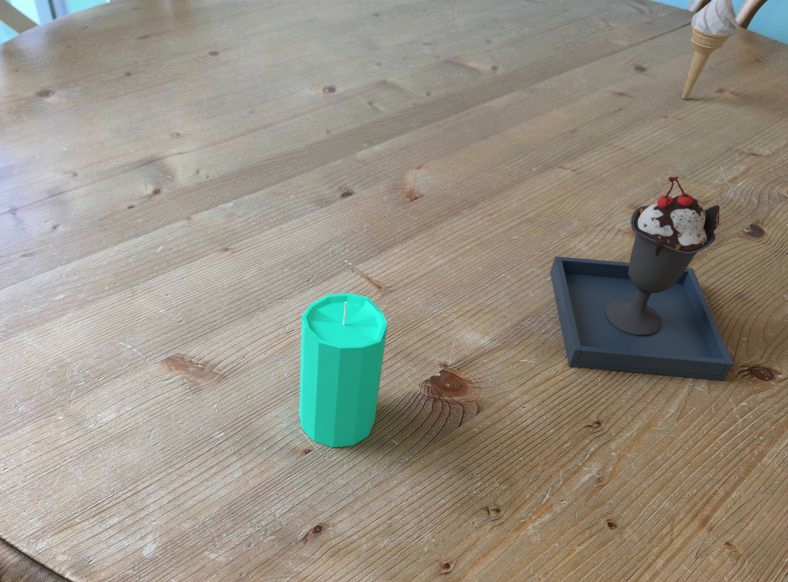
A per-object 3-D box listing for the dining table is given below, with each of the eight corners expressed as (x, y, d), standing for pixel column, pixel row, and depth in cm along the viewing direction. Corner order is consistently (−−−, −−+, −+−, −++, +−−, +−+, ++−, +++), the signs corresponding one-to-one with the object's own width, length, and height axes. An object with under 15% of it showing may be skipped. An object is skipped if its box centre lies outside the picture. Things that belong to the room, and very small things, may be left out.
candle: (316, 457, 56) (323, 341, 48) (287, 401, 60) (288, 286, 52) (387, 434, 58) (405, 319, 50) (354, 382, 62) (366, 267, 54)
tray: (685, 284, 73) (693, 268, 72) (724, 380, 64) (734, 364, 63) (550, 272, 74) (555, 256, 73) (568, 366, 65) (574, 349, 63)
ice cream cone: (670, 86, 106) (712, -27, 96) (710, 97, 104) (758, -17, 94) (658, 99, 103) (700, -16, 92) (699, 112, 101) (747, -5, 90)
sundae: (582, 318, 68) (637, 173, 58) (617, 285, 72) (673, 143, 62) (650, 354, 65) (720, 208, 55) (682, 318, 69) (754, 174, 58)
